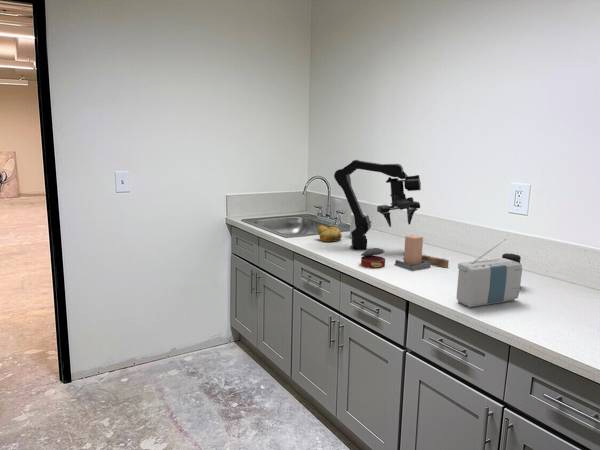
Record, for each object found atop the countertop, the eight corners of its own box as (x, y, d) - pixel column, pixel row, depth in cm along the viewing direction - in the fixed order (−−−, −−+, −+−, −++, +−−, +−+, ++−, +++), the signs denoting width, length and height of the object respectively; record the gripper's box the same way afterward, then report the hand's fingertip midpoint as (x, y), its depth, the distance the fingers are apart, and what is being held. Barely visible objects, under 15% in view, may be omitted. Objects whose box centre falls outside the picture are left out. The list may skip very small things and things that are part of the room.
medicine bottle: (517, 290, 166) (521, 257, 164) (496, 287, 170) (499, 254, 168) (520, 285, 172) (523, 253, 170) (499, 282, 176) (502, 250, 174)
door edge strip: (403, 258, 207) (403, 252, 206) (405, 257, 208) (406, 251, 208) (445, 268, 193) (446, 260, 193) (448, 267, 195) (448, 260, 194)
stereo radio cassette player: (470, 310, 147) (476, 247, 143) (452, 301, 154) (457, 242, 150) (519, 302, 155) (526, 242, 151) (500, 294, 162) (506, 237, 159)
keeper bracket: (394, 264, 197) (394, 260, 197) (411, 261, 203) (412, 257, 202) (412, 270, 188) (412, 266, 188) (430, 267, 194) (430, 262, 194)
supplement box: (365, 239, 245) (366, 215, 243) (350, 238, 245) (351, 214, 243) (363, 236, 252) (364, 212, 250) (349, 235, 252) (350, 212, 250)
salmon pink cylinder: (403, 264, 196) (405, 236, 194) (412, 262, 199) (413, 235, 197) (412, 267, 192) (414, 238, 190) (421, 265, 195) (423, 237, 192)
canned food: (362, 277, 194) (351, 256, 194) (370, 269, 203) (360, 248, 202) (386, 269, 188) (375, 246, 188) (393, 260, 197) (383, 239, 196)
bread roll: (337, 237, 247) (338, 222, 246) (346, 241, 238) (347, 226, 237) (315, 239, 242) (315, 224, 241) (323, 243, 233) (324, 227, 232)
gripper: (384, 195, 204) (386, 230, 207) (424, 190, 207) (426, 225, 210) (375, 193, 215) (378, 227, 217) (414, 189, 218) (416, 222, 220)
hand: (399, 225), depth 216 cm, fingers open, 9 cm apart
